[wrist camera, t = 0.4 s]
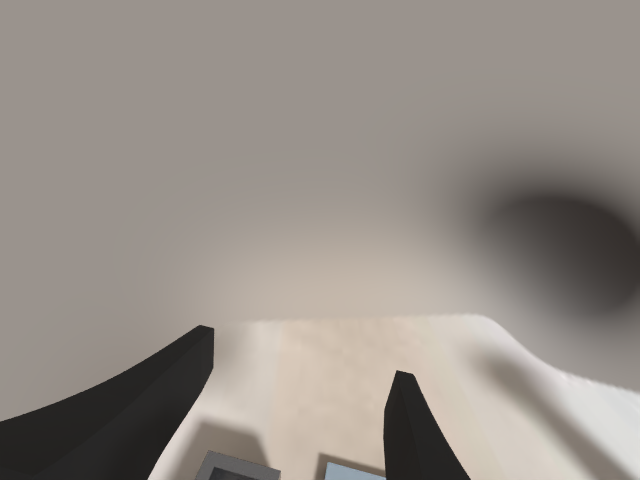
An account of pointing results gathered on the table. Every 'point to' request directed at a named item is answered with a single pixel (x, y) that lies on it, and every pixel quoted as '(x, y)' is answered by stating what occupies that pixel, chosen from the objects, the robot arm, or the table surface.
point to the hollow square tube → (234, 469)
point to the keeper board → (348, 473)
